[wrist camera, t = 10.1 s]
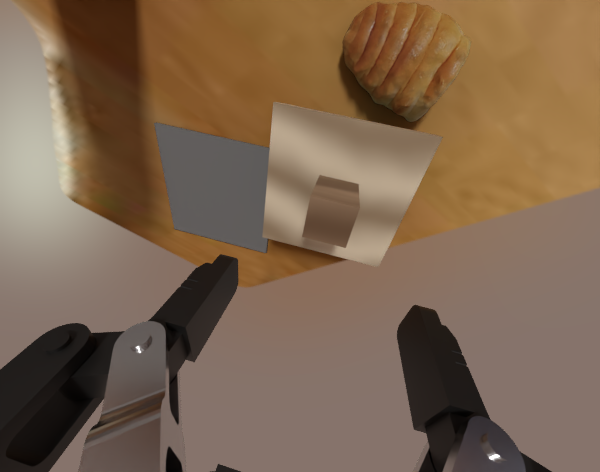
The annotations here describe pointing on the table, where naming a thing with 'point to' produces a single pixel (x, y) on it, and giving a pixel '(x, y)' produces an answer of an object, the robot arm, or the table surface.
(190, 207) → the mat
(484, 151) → the table surface
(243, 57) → the table surface
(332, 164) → the lid
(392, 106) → the pastry
